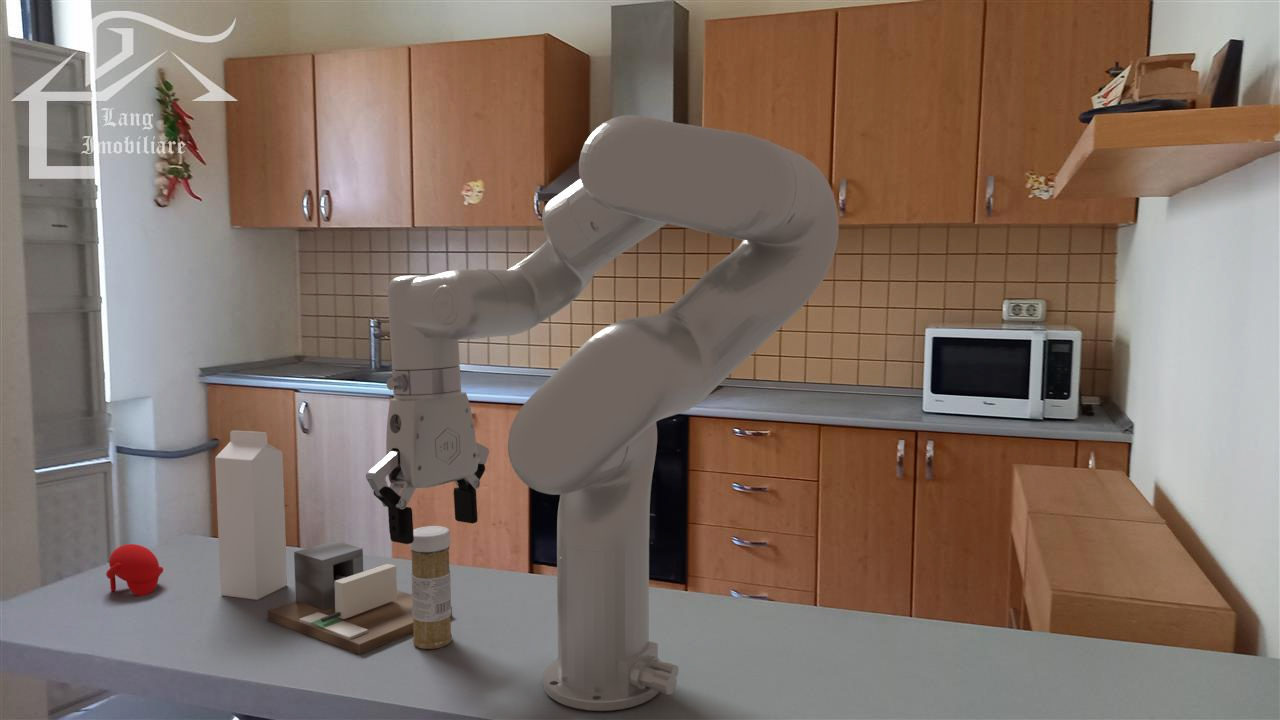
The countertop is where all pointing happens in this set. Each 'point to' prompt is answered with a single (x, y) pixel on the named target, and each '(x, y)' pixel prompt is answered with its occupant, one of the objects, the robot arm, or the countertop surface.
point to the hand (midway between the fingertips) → (435, 531)
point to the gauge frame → (319, 601)
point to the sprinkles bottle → (431, 587)
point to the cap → (134, 568)
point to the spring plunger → (364, 591)
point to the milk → (250, 516)
